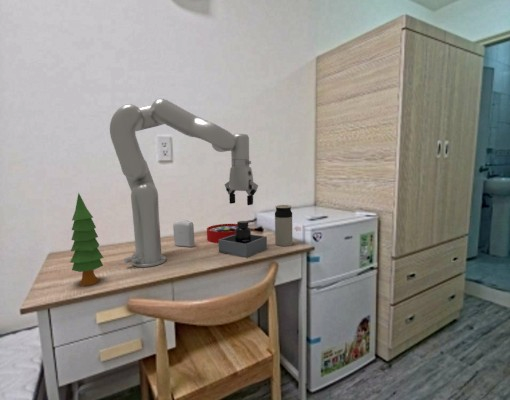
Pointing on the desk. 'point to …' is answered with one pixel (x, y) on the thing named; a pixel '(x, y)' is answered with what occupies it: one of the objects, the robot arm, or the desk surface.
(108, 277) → the desk surface
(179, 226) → the photo printer
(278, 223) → the travel mug
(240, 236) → the supplement bottle
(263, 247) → the box
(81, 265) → the decorative tree
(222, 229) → the toy clock
